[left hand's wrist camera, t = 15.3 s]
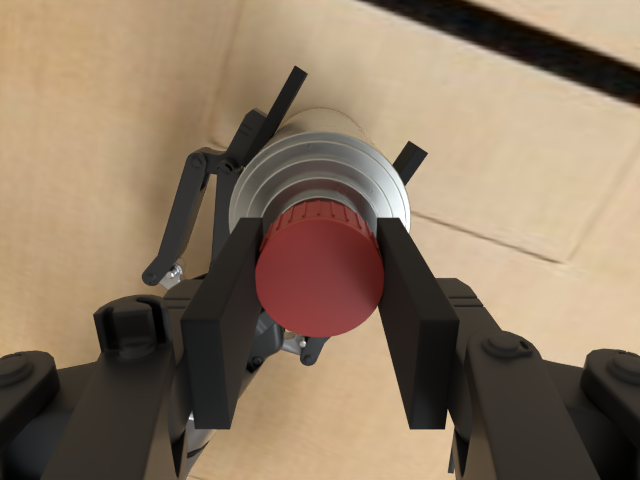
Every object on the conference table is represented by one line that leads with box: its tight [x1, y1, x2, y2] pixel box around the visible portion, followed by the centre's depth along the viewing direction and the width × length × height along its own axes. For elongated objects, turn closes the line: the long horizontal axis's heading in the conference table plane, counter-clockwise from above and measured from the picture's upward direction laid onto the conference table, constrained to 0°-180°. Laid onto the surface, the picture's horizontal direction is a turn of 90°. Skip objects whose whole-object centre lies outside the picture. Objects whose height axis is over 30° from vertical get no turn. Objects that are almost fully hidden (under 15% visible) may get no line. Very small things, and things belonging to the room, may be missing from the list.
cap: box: [255, 200, 384, 337], centre depth 13 cm, size 4×4×2 cm
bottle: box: [229, 108, 411, 237], centre depth 23 cm, size 8×8×22 cm
